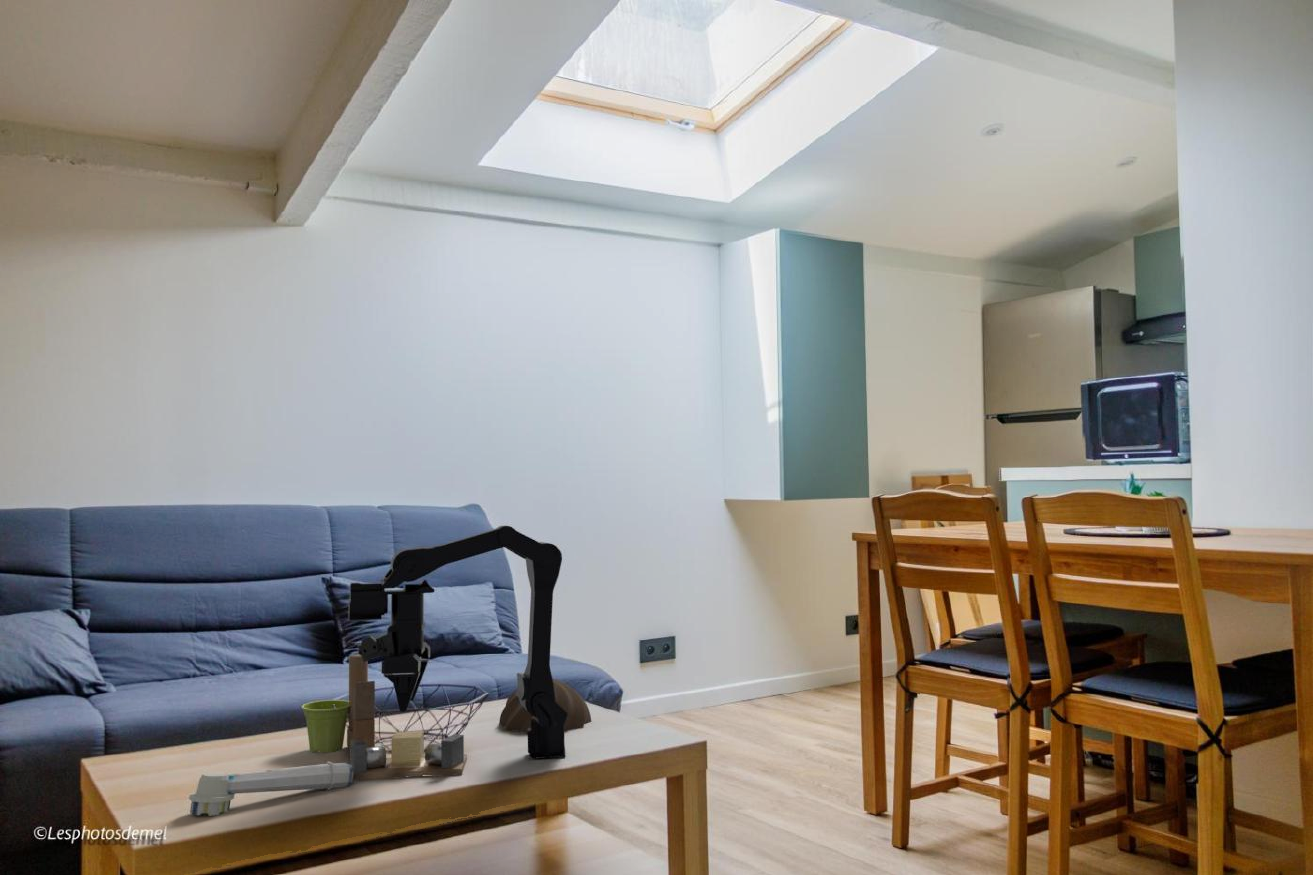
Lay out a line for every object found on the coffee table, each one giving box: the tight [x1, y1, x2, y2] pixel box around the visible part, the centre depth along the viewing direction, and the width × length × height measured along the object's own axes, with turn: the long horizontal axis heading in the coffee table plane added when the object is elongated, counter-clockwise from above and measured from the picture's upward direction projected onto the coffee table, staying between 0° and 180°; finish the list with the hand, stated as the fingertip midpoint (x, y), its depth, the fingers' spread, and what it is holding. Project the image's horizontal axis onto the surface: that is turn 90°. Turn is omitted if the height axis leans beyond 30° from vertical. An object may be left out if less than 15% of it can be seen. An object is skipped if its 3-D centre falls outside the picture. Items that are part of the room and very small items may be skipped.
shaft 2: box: [424, 734, 465, 769], centre depth 172 cm, size 6×5×5 cm
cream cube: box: [390, 730, 425, 767], centre depth 173 cm, size 5×5×5 cm
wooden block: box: [346, 653, 376, 750], centre depth 187 cm, size 4×11×18 cm, turn 26°
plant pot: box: [301, 699, 350, 754], centre depth 189 cm, size 9×9×9 cm
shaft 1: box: [349, 739, 387, 774], centre depth 170 cm, size 6×5×5 cm
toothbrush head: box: [188, 760, 353, 817], centre depth 156 cm, size 5×7×25 cm
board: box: [352, 753, 468, 781], centre depth 173 cm, size 20×10×1 cm, turn 97°
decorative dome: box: [498, 677, 592, 735], centre depth 208 cm, size 19×20×10 cm
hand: (407, 705), depth 174 cm, fingers open, 9 cm apart
